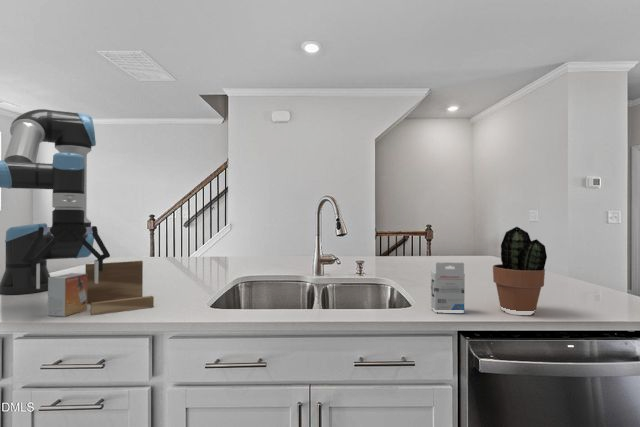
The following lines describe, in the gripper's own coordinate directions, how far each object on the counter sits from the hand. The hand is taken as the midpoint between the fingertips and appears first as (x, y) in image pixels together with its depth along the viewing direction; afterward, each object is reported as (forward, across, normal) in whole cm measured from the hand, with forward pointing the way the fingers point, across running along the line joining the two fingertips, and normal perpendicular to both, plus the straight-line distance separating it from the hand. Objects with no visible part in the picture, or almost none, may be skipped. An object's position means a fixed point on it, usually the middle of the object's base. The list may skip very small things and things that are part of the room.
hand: (68, 285), depth 108 cm
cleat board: (+8, +13, +2) cm, 15 cm away
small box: (+8, 0, 0) cm, 8 cm away
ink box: (+9, +90, -58) cm, 108 cm away
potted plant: (+9, +107, -70) cm, 128 cm away
